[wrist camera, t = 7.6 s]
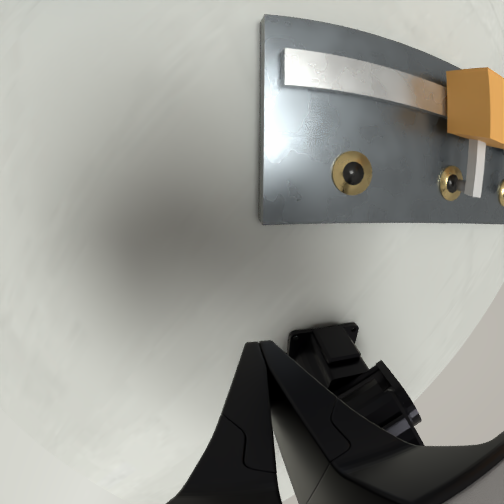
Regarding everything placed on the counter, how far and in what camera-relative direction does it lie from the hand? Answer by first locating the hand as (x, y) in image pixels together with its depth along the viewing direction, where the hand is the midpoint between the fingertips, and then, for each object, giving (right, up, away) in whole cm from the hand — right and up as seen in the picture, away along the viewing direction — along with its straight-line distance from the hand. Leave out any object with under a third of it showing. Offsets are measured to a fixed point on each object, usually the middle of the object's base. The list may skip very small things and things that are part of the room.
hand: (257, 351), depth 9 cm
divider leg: (+17, +13, +8) cm, 23 cm away
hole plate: (+15, +13, +10) cm, 22 cm away
